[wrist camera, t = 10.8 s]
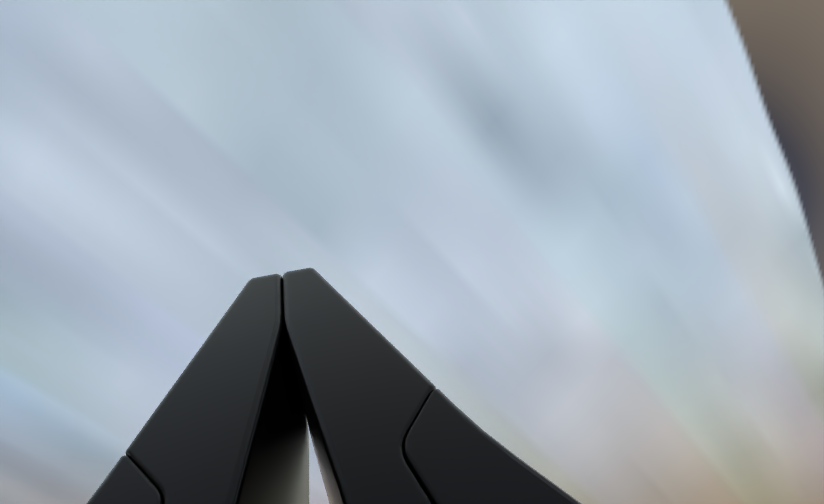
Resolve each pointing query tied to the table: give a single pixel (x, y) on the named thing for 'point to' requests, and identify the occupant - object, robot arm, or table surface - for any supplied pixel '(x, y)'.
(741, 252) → the table surface
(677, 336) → the table surface
